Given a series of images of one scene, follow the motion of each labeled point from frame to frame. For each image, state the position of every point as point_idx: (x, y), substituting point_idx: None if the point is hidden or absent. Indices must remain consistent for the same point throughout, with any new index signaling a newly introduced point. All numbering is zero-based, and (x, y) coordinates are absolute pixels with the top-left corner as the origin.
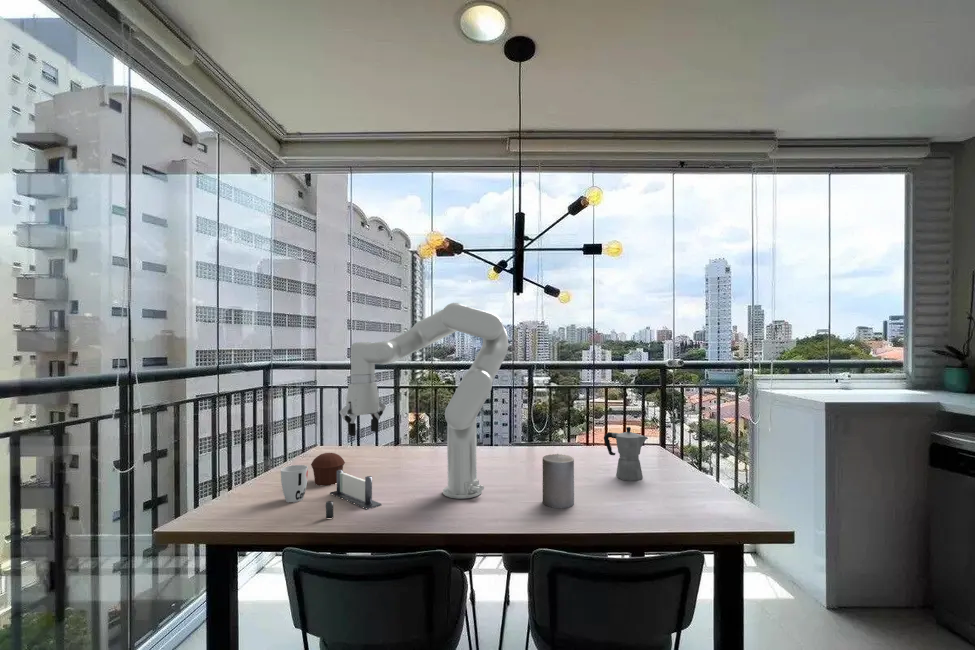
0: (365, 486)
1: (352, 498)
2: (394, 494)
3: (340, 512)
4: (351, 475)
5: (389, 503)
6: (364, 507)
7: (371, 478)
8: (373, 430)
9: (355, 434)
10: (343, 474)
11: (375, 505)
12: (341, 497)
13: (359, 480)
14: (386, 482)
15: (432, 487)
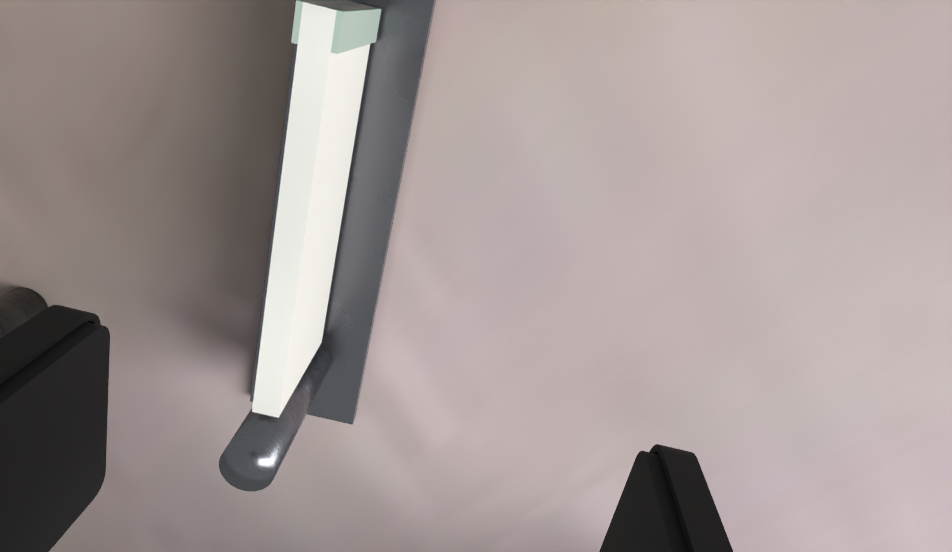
0: (247, 415)
1: None
2: (564, 360)
3: (124, 293)
4: (307, 183)
5: (407, 436)
6: (254, 374)
7: (258, 485)
8: (613, 532)
9: (91, 495)
10: (295, 68)
11: (310, 413)
12: (288, 96)
13: (263, 337)
14: (806, 107)
15: (805, 483)
